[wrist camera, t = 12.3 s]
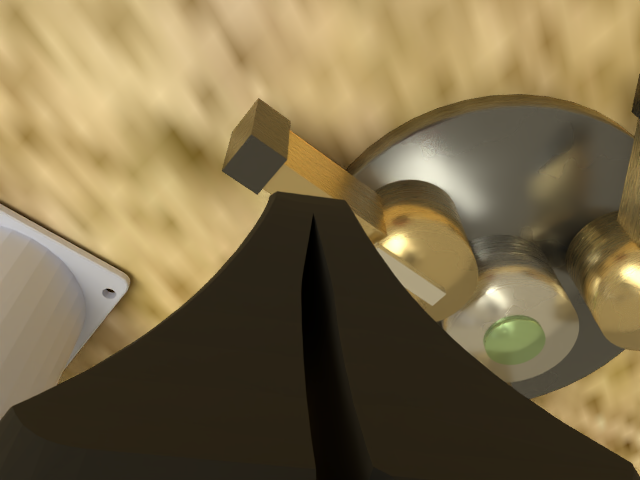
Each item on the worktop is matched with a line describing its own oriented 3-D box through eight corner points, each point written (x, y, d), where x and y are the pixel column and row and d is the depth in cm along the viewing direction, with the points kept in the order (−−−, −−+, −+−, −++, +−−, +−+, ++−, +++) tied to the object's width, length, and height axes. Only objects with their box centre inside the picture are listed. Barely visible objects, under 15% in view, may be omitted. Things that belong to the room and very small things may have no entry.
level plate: (476, 427, 30) (499, 513, 26) (237, 286, 25) (224, 368, 21) (742, 240, 24) (821, 317, 20) (497, 5, 19) (543, 49, 15)
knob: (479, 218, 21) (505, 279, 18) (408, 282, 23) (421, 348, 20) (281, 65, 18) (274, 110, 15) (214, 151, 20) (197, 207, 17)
